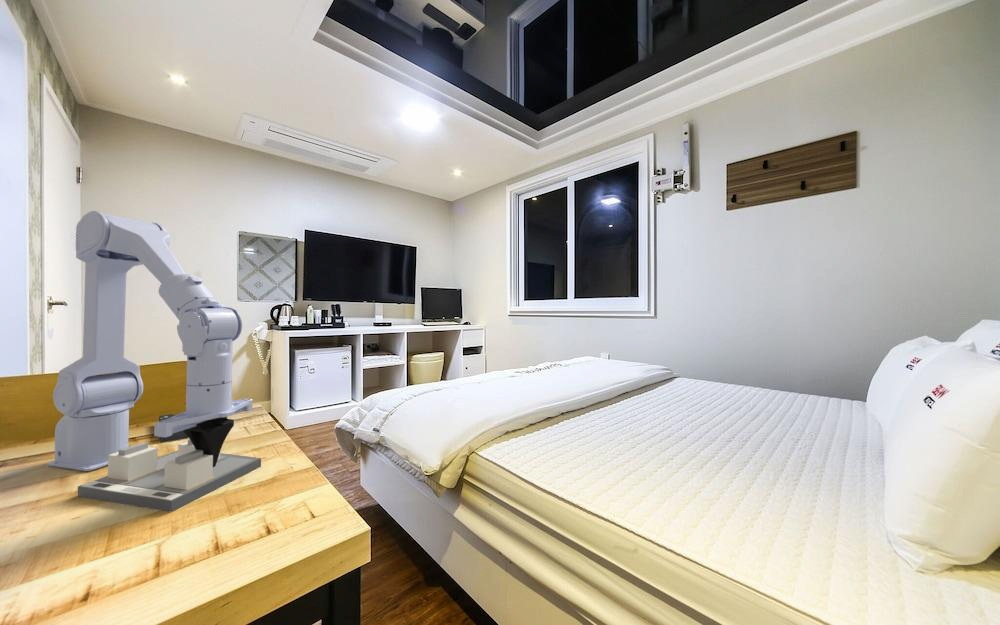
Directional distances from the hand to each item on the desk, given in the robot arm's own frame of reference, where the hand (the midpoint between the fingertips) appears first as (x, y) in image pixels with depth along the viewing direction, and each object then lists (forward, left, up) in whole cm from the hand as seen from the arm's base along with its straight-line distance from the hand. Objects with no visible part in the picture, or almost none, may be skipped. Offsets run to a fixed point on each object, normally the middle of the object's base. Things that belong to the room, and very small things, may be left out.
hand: (208, 466), depth 59 cm
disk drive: (-28, +20, -3) cm, 35 cm away
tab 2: (-5, +3, -1) cm, 6 cm away
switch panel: (-5, 0, -3) cm, 6 cm away
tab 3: (0, -3, -1) cm, 3 cm away
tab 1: (-11, -3, -1) cm, 11 cm away
